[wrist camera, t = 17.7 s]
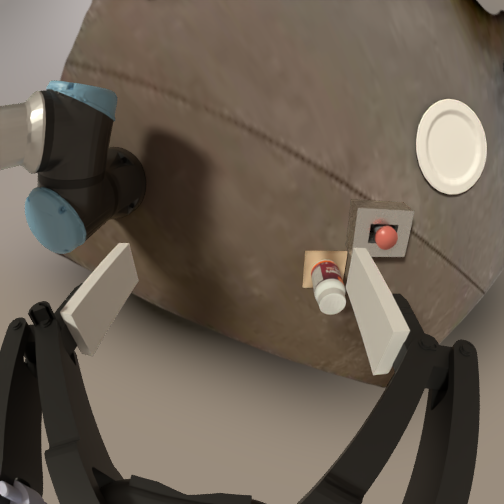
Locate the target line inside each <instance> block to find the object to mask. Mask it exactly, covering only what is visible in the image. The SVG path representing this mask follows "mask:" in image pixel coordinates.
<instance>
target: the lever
mask: <svg viewBox="0 0 504 504" xmlns="http://www.w3.org/2000/svg"><path fill="white" fill-rule="evenodd" d="M371 227H372V229H373V231H374V232H375V233H376V234H375V242H376V244H377V245H378V247H379V248H381V249H383V250H388V249H390V248H392V247H393V246H394V245H395V244H396V242H397V239H398V235H397V232H396V231H395V230H394V229H393V228H392V227H391V226H384V225H383V224H372V226H371Z"/></svg>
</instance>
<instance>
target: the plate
mask: <svg viewBox="0 0 504 504" xmlns="http://www.w3.org/2000/svg"><path fill="white" fill-rule="evenodd" d="M486 153H487V144H486V138H485V132H484V130H483V127H482V125H481V122H480V120H479V119H478V117H477V116H476V114H475V113H474V112H473V111H472V110H471V109H470V108H469V107H468V106H467V105H466V104H464V103H462V102H460V101H458V100H452V99H445V100H440V101H437V102H436V103H434V104H433V105H431V106H430V107H429V108H428V109H427V111H426V112H425V113H424V114H423V116H422V118H421V121H420V123H419V125H418V130H417V135H416V154H417V158H418V163H419V166H420V169H421V171H422V173H423V175H424V177H425V178H426V180H427V181H428V182H429V183H430V185H431V186H433V187H434V188H435V189H437V190H438V191H440V192H442V193H445V194H449V195H452V194H460V193H462V192H465V191H467V190H468V189H469V188H471V187H472V186H473V185H474V184H475V183H476V181H477V180H478V179H479V177H480V175H481V173H482V171H483V168H484V165H485V161H486Z"/></svg>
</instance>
